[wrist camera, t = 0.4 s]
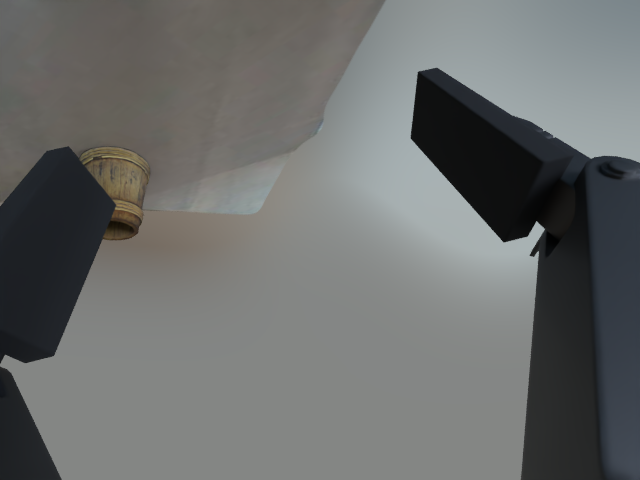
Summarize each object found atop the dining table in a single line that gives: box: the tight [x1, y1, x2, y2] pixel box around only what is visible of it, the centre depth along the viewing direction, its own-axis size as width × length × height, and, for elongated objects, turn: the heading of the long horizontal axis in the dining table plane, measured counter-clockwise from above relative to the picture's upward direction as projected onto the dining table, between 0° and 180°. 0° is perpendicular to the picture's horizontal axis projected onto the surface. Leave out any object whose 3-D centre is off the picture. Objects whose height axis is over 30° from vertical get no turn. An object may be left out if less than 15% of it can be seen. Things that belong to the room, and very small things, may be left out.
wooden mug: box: [79, 147, 150, 240], centre depth 41 cm, size 9×14×18 cm, turn 64°
